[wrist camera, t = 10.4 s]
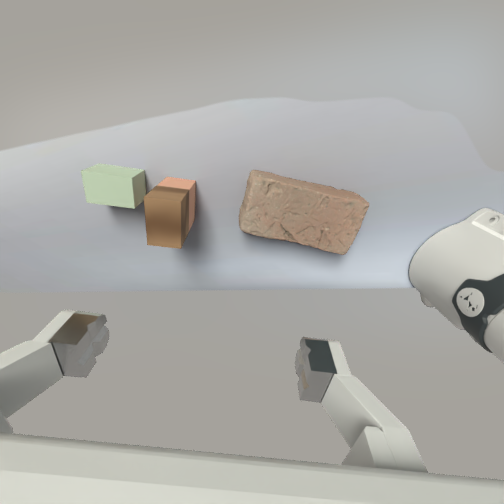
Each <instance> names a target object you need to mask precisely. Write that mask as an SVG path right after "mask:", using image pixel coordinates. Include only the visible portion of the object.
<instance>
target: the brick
mask: <svg viewBox="0 0 504 504" xmlns="http://www.w3.org/2000/svg"><path fill="white" fill-rule="evenodd" d="M368 207H369V203H368V202H367V201H366V200H365V199H364V198H362V197H361V196H360V195H358V194H356V193H354V192H351V191H346V190H343V189H342V190H337V189H335V188H334V187H331V186H324V185H320V184H315V183H309V182H306V181H300V180H296V179H292V178H286V177H282V176H279V175H276V174H273V173H269V172H263V171H258V170H252V171H251V172H250V176H249V179H248V181H247V187H246V192H245V196H244V200H243V203H242V205H241V208H240V214H239V226H240V229H241V230H242V231H243V232H245V233H249V234H253V235H256V236H261V237H265V238H270V239H279V240H288V241H290V242H296V243H299V244H302V245H306V246H308V245H309V246H311V247H313V248H318V249H321V250H324V251H328V252H333V253H338V254H341V255H344V254H346V253H347V252H348V250H349V248H350V245H352V243H353V241H354V239H355V237H356V235H357V233H358V231H359V229H360V227H361V224H362V221H363V218H364V216H365V214H366V212H367V209H368Z"/></svg>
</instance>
